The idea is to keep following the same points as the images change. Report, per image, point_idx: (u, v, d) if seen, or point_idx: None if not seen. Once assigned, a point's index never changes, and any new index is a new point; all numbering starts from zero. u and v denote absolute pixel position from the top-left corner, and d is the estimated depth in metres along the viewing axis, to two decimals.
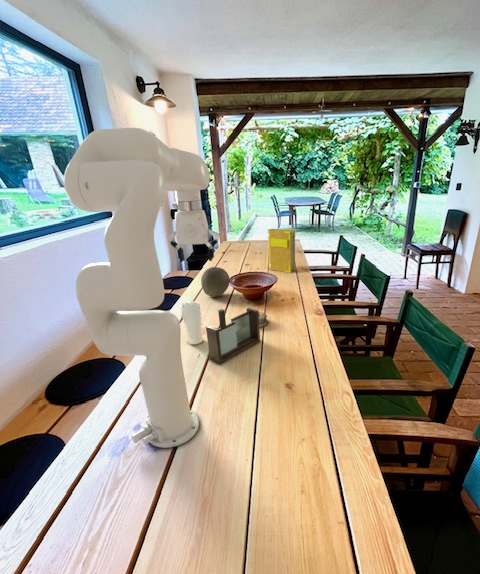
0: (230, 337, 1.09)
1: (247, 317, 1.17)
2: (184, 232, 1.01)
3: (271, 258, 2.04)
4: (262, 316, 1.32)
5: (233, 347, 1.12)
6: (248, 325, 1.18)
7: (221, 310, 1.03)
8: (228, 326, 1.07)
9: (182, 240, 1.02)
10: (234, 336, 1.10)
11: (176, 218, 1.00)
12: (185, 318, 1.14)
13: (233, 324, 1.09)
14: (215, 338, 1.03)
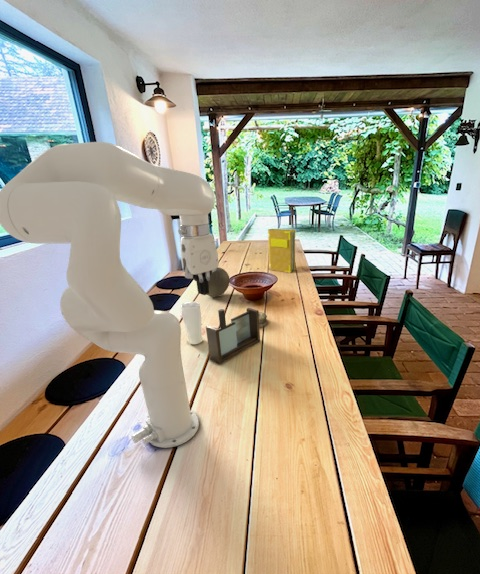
0: (230, 337, 1.09)
1: (247, 317, 1.17)
2: (199, 260, 0.89)
3: (271, 258, 2.04)
4: (262, 316, 1.32)
5: (233, 347, 1.12)
6: (248, 325, 1.18)
7: (221, 310, 1.03)
8: (228, 326, 1.07)
9: (197, 269, 0.89)
10: (234, 336, 1.10)
11: (190, 245, 0.86)
12: (185, 318, 1.14)
13: (233, 324, 1.09)
14: (215, 338, 1.03)
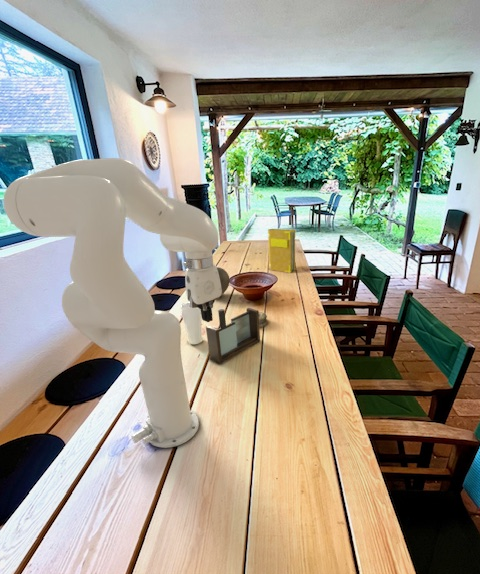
0: (230, 337, 1.09)
1: (247, 317, 1.17)
2: (203, 290, 0.92)
3: (271, 258, 2.04)
4: (262, 316, 1.32)
5: (233, 347, 1.12)
6: (248, 325, 1.18)
7: (221, 310, 1.03)
8: (228, 326, 1.07)
9: (202, 299, 0.93)
10: (234, 336, 1.10)
11: (195, 277, 0.89)
12: (185, 318, 1.14)
13: (233, 324, 1.09)
14: (215, 338, 1.03)
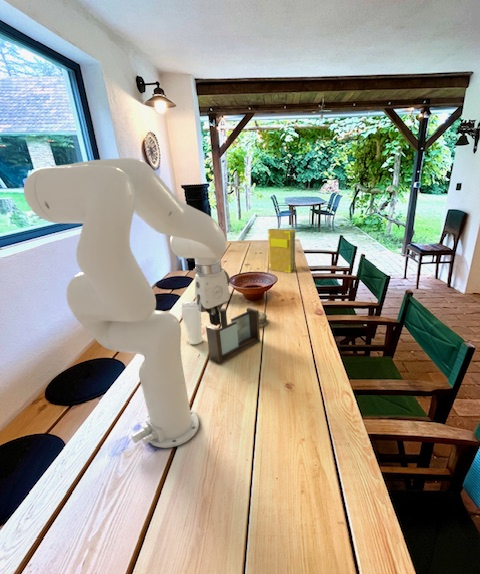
0: (232, 336, 1.10)
1: (247, 317, 1.17)
2: (212, 295, 0.95)
3: (271, 258, 2.04)
4: (262, 316, 1.32)
5: (234, 346, 1.12)
6: (248, 325, 1.18)
7: (222, 309, 1.03)
8: (229, 325, 1.07)
9: (210, 304, 0.96)
10: (235, 336, 1.11)
11: (204, 283, 0.92)
12: (185, 318, 1.14)
13: (234, 323, 1.09)
14: (215, 338, 1.03)
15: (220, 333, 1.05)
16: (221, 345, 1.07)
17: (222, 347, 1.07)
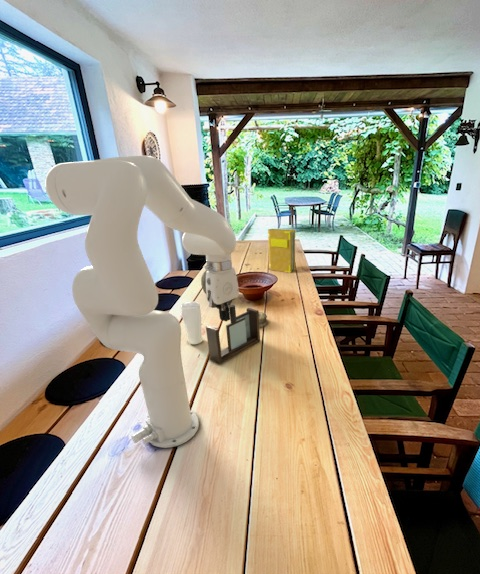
0: (240, 332, 1.12)
1: (247, 317, 1.17)
2: (223, 291, 0.98)
3: (271, 258, 2.04)
4: (262, 316, 1.32)
5: (243, 342, 1.15)
6: (248, 325, 1.18)
7: (232, 306, 1.06)
8: (238, 321, 1.10)
9: (221, 300, 0.98)
10: (243, 332, 1.14)
11: (215, 279, 0.95)
12: (185, 318, 1.14)
13: (243, 319, 1.12)
14: (215, 338, 1.03)
15: (229, 329, 1.08)
16: (230, 340, 1.10)
17: (231, 342, 1.10)
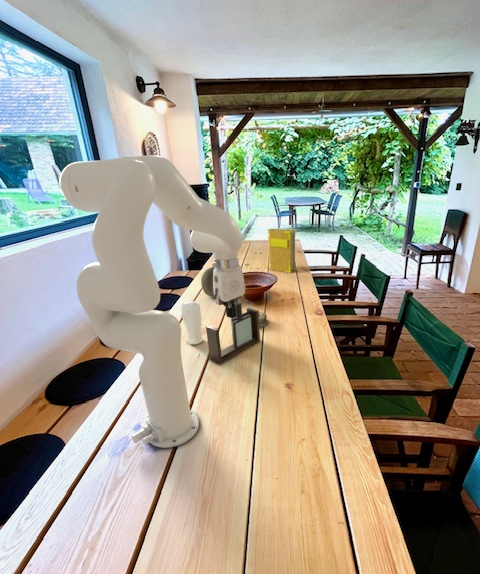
0: (246, 329, 1.14)
1: None
2: (229, 288, 1.00)
3: (271, 258, 2.04)
4: (262, 316, 1.32)
5: (248, 339, 1.17)
6: None
7: (238, 303, 1.08)
8: (244, 318, 1.12)
9: (228, 297, 1.00)
10: (249, 329, 1.16)
11: (222, 277, 0.97)
12: (185, 318, 1.14)
13: (249, 317, 1.14)
14: (215, 338, 1.03)
15: (235, 326, 1.10)
16: (236, 337, 1.11)
17: (237, 339, 1.12)
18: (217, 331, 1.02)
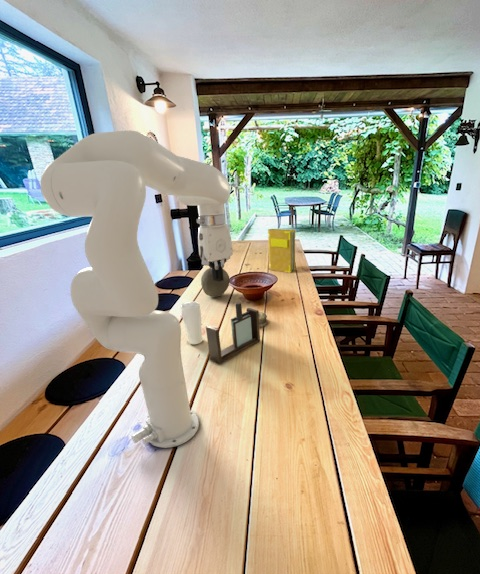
0: (246, 329, 1.14)
1: None
2: (215, 248, 0.95)
3: (271, 258, 2.04)
4: (262, 316, 1.32)
5: (248, 339, 1.17)
6: None
7: (238, 303, 1.08)
8: (244, 318, 1.12)
9: (214, 256, 0.96)
10: (249, 329, 1.16)
11: (208, 234, 0.92)
12: (185, 318, 1.14)
13: (249, 317, 1.14)
14: (215, 338, 1.03)
15: (235, 326, 1.10)
16: (236, 337, 1.11)
17: (237, 339, 1.12)
18: (217, 331, 1.02)
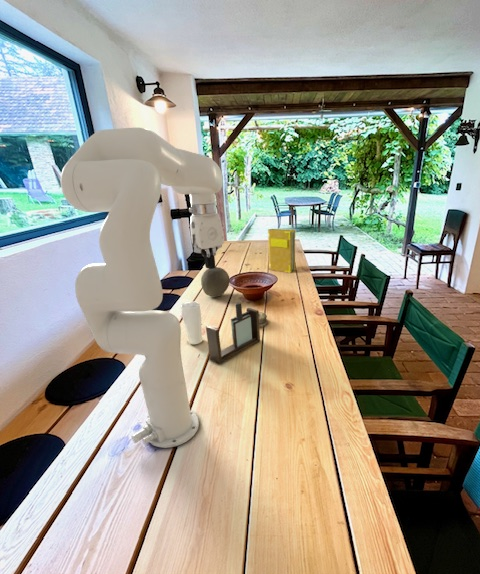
0: (246, 329, 1.14)
1: None
2: (207, 236, 0.99)
3: (271, 258, 2.04)
4: (262, 316, 1.32)
5: (248, 339, 1.17)
6: None
7: (238, 303, 1.08)
8: (244, 318, 1.12)
9: (205, 244, 1.00)
10: (249, 329, 1.16)
11: (199, 222, 0.96)
12: (185, 318, 1.14)
13: (249, 317, 1.14)
14: (215, 338, 1.03)
15: (235, 326, 1.10)
16: (236, 337, 1.11)
17: (237, 339, 1.12)
18: (217, 331, 1.02)
